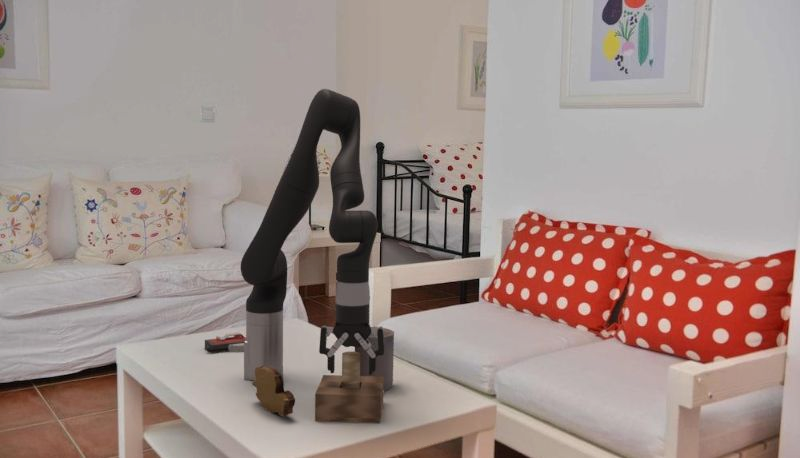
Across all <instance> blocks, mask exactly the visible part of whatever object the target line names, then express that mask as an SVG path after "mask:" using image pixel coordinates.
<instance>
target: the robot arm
mask: <svg viewBox="0 0 800 458" xmlns="http://www.w3.org/2000/svg"><path fill="white" fill-rule="evenodd" d="M323 131H327V132H330V133H333V134H336V135H338V136H339V140H340V149H339V152H338V154H337V156H336V157H335V158H334V161H333V163H332V164H331V167H330V172H329V173H330V174H329V176H330V177H329V178H330V185H331V193H332V209H331V214H330V220H329V225H328V233H329V236H330V237H331V239H332V240H333V241H334V242H336V243H338V244H355V243H356V244H357V243H358V246H357V247H356V249H355V250H353V251H349V252H346V253H342V254H340V255H338V257H337V259H336V283H335V284H336V285H335V293H334V294H335V296H334V297H335V305H334V306H335V309H334V312H335V313H334V314H335V315H334V319H335V320H334V321H335V323H334V326H328V325H325V324H322V327H321V328H320V337H319V350H318V351H319V352H318V353H319V354H321V355H325V356H326V357H327V370H328V371H330V374H334V373H335V371H336V370H335V368H336V367H335V361H336V359H335V358H336V355H335V353H336V352H337V351H338V350H339V349H340V347H341V346H343V347H344V348H350V347H354V348H355V347H359V346H361V345H362V347H363V348H364V349H365V351H367V353H368V354H369V355H370V357H369V374H372V373H373V372H375V369H376V357H377V356H380V355H381V356H382V355H383V354H384V331H383V328H384V327H383V326H379V328H371V325H370V303H371V302H370V301H371V296H370V295H371V294H370V293H371V292H370V291H371V290H370V282H369V281H370V280H369V279H370V259H371V253H372V251H373V246H374V243H375V241H376V237H377V234H378V229H379V228H378V227H379V223H378V218H377V217H376V215H375V213H374V212H372V210H351V209H355V208H357V207H359V206H361V205H362V204H363V203H364V202H365V190H364V185H363V184H364V183H363V177H362V172H361V171H362V170H361V163H360V161H361V158H360V149H361V112H360V106H359V104H358V102H357V101H356V100H355V99H353V98H351V97H349V96H347V95H344V94H341V93H338V92H336V91H333V90H330V89H328V88H321V89H319V90H318V92H316V94H315V95H314V96H313V99H311V102H310V104H309V107H308V110H307V112H306V115H305V118H304V120H303V123H302V126H301V130H300V132H299V134H298V135H299V136H298V138H297V141H296V143H295V146H294V149H293V151H292V153H291V155H290V158H289V160H288V162H287V164H286V166H285V168H284V170H283V172H282V175H281V177H280V179H279V181H278V184H277V186H276V188H275V190H274V192H273V195H272V198H271V201H270V202H269V205H268V207H267V208H266V210H265V211H266V212H265V213H264V216H263V219H262V221H261V223H260V226H259V227H258V229H257V231H256V233H255V235H254V236H253V239H252V240H251V242H250V243H249V246H247V248H246V250H245V252H244V254H243V255H242V259H241V260H240V261H241V262H240V273H241V276H242V278H243V280H244V281H245V282H246V283H247V284H249V285H252V290H251V292H250V294H249V295H248V297H247V298H246V301H245V338H246V340H245V342H244V352H243V379H244V380H250V381H252V382H253V381H256V377H255V369H256V368H257V367H262V366H265V367H266V366H271V367H273V368H275V369H276V370H277V371H278V372H280V373H281V375H282V376H284V304H285V301H286V297H287V289H288V288H287V287H288V285H287V284H288V260H287V257H286V254H285V253H284V250H282V247H283V246H284V243H285V241H287V238H288V237H289V235H290V234H291V233H292V232H293V231H294V229H295V228H296V227H297V226H298V225H299V223H300V222H301V220H302V219H303V218H304V217H305V216H306V214H307V212H308V211H309V209H310V207H311V205H312V203H313V201H314V199H315V197H316V194H317V192H318V190H319V187H320V173H319V165H318V160H317V159H318V158H317V150H318V144H319V141H320V139H321V138H320V137H321V135H322V134H323ZM331 333H333V335H334V336H335V338H336V340H335V342H334V343H333V344H332V345H331V347H330V348H328V347H327V340H328V339H327V338H328V337H330V336H331ZM371 333H373V334H374V337H375V338H378V349H376V350H375V349H374V348H373V347H372V345H371V343H370V342H369V341H368V339H367V338H368V337H369V336H370V334H371Z"/></svg>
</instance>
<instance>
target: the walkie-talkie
mask: <svg viewBox="0 0 800 458" xmlns="http://www.w3.org/2000/svg"><path fill="white" fill-rule="evenodd" d="M215 337H216V338H209V339H205V340H204V350H206V352H207V353H209V354H218V353H219V352H220V353H226V352H227V353H228V351H229V353H244V342H245V340H246V336H244V335H243V334H242V333H240V332H234V333H232V332H231V333H226V334H225V335H223V336H222V337H221V336H219V335H216V336H215Z"/></svg>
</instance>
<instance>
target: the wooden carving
mask: <svg viewBox="0 0 800 458" xmlns="http://www.w3.org/2000/svg"><path fill="white" fill-rule="evenodd" d="M283 376H284V375H283ZM283 376H282V375H281V373H280V372H278V371H277V370H276V369H275V368H273V367H271V366H266V367H265V366H262V367H257V368H256V369H255V377H256V381H253V380H252V381H251V382H252V383H251V384H252V386H253V388H254V387H255V388H256V392H255V396H256V398H257V399H258V401H259V403H260V404H261V405H262V407H263V408H264V409H265V410H266V411H268V412H270V413H272V414H274V413H278V415H280V416H281V417H286V416H289V415H291V414H293V412H294V410H293V409H294V406H295V405H296V398H295V396H294V393H293V392H291V390H288V389H287V390H285V387H284V386H285V382H284V377H283Z"/></svg>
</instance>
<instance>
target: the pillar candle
mask: <svg viewBox="0 0 800 458" xmlns="http://www.w3.org/2000/svg"><path fill="white" fill-rule="evenodd" d="M370 327H371V326H370ZM379 327H380V326H379ZM379 327H378V326H372V327H371V328H379ZM383 331H384V354H383V355H382V356H381V355H380V356H377V357H376V369H375V372H373V373H372V374H369V357H370V355H369V354H368V353H367V351H365V349H364V348H363V347H362V345H361V346H359V347H354V352H359V353H360V376H375V377H384V392H385V390H386V391H388V390H389V389H391V388H392V387H394V386H393V384H394V383H393V382H394V351H395V349H394V347H395V331H394V330H392V329H389V328H387V327H383ZM367 339H368V341H369V342H370V343H371V345H372V347H373V348H374V349H375V350H376V349H378V338H375V337H374V334H373V333H371V334H370V336H369V337H368V338H367Z"/></svg>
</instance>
